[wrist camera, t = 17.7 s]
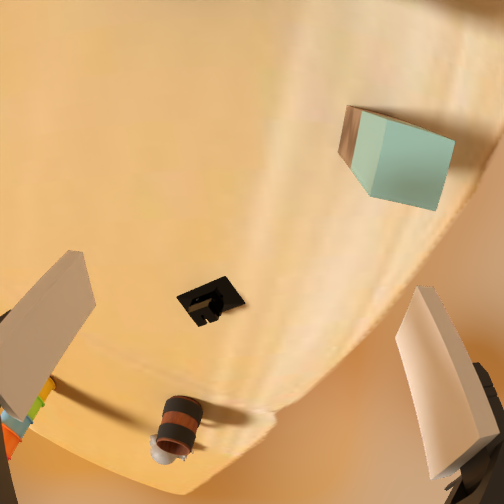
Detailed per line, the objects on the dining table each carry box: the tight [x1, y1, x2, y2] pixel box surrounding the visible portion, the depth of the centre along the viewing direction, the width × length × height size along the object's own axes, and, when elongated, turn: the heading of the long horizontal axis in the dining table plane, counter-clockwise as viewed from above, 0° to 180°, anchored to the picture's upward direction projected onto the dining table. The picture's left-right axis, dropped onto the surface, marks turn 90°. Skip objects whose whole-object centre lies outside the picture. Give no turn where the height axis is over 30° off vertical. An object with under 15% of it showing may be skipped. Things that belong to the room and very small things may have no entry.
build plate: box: [177, 276, 245, 327], centre depth 48 cm, size 12×7×5 cm, turn 119°
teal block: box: [351, 111, 455, 211], centre depth 25 cm, size 6×6×8 cm
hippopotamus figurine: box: [150, 435, 194, 465], centre depth 73 cm, size 7×12×8 cm, turn 70°
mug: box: [156, 396, 203, 456], centre depth 61 cm, size 9×12×12 cm
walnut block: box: [338, 106, 414, 169], centre depth 32 cm, size 6×6×8 cm
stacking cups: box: [1, 377, 56, 460], centre depth 56 cm, size 10×10×35 cm
